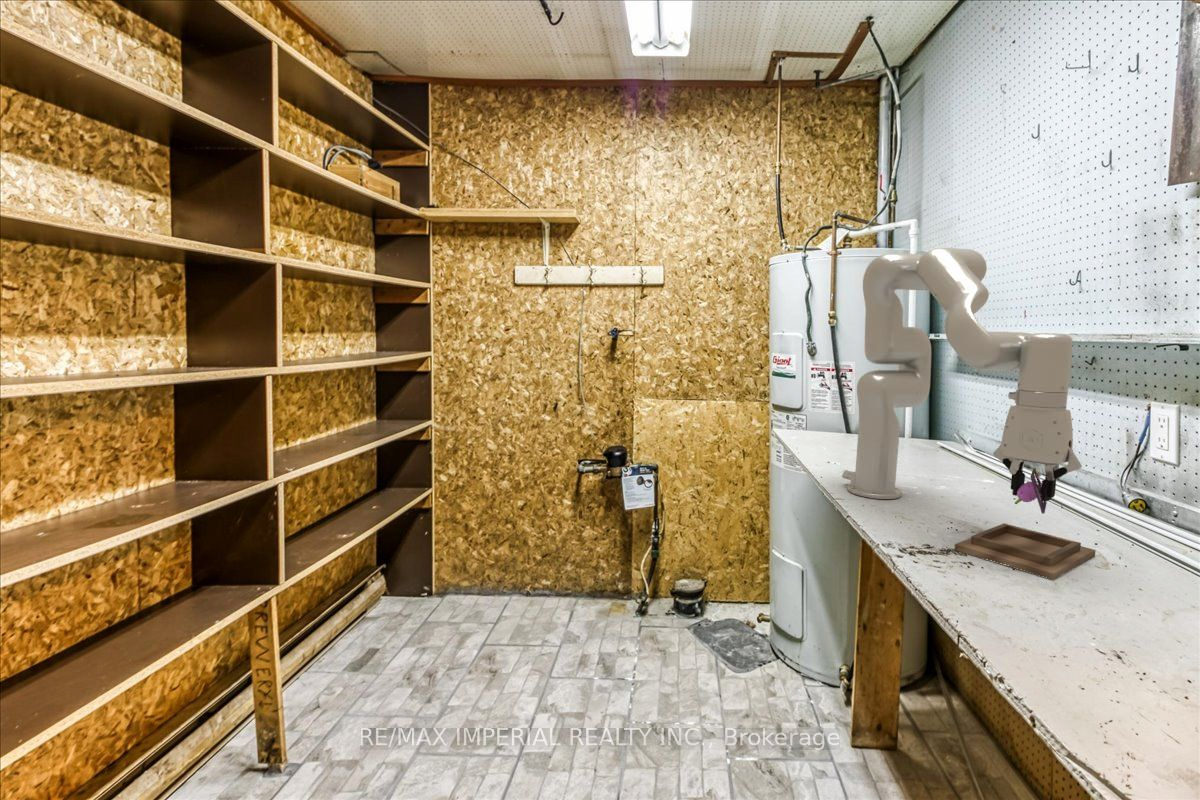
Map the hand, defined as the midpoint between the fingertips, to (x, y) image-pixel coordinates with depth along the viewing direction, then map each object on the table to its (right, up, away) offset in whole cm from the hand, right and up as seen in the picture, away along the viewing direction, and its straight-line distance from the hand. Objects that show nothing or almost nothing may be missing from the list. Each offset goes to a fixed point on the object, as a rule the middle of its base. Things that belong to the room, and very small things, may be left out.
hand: (1031, 496), depth 112 cm
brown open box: (0, -11, +2) cm, 11 cm away
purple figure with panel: (-1, -2, -1) cm, 2 cm away
